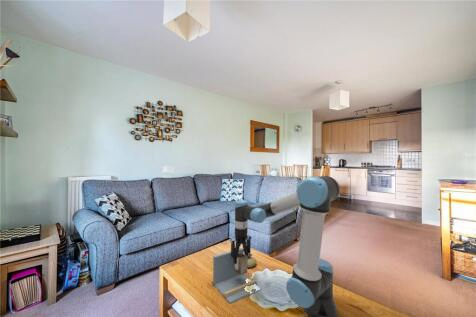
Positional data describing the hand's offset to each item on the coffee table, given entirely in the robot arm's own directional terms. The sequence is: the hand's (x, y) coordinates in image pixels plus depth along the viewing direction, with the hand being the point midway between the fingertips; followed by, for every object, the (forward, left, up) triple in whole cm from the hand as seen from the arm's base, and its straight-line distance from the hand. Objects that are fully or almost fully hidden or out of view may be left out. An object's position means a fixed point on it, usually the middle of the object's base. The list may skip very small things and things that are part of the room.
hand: (240, 267), depth 114 cm
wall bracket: (-2, +4, -9) cm, 10 cm away
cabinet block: (0, 0, -2) cm, 2 cm away
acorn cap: (+14, -16, -9) cm, 23 cm away
